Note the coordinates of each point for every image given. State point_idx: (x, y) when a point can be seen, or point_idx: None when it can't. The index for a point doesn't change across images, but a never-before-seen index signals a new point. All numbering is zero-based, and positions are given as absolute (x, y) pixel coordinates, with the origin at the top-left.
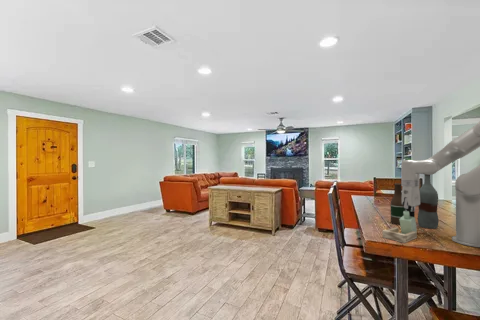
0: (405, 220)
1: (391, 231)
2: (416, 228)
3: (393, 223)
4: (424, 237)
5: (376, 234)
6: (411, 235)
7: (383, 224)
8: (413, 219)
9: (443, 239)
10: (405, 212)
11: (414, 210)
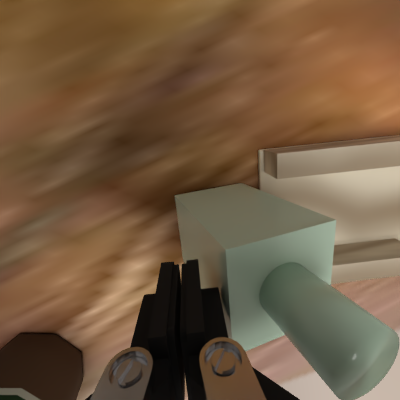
0: (330, 265)
1: (372, 255)
2: (182, 202)
3: (82, 372)
4: (205, 127)
5: (384, 290)
6: (361, 143)
7: None
8: (262, 232)
9: (127, 26)
10: (390, 350)
11: (118, 368)
